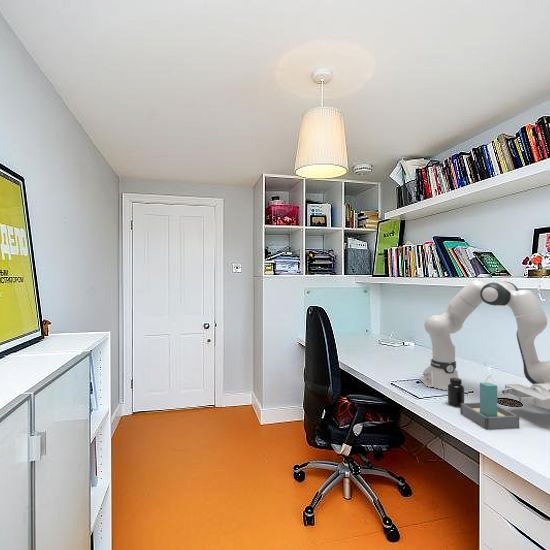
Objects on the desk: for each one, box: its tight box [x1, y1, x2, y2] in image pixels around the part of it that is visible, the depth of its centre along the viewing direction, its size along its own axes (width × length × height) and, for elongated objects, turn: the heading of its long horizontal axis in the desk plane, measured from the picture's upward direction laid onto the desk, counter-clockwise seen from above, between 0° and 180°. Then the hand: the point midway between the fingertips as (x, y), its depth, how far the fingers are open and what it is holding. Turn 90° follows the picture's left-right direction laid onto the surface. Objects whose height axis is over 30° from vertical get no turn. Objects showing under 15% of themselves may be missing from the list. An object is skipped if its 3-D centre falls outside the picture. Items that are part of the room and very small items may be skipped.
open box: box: [459, 401, 520, 431], centre depth 147 cm, size 16×14×4 cm
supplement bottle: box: [447, 377, 465, 408], centre depth 164 cm, size 7×7×12 cm
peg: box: [479, 382, 498, 417], centre depth 147 cm, size 4×4×15 cm
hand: (511, 395), depth 148 cm, fingers open, 8 cm apart
